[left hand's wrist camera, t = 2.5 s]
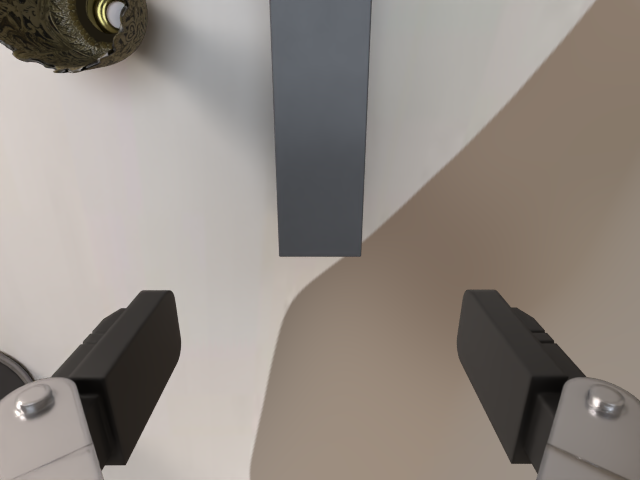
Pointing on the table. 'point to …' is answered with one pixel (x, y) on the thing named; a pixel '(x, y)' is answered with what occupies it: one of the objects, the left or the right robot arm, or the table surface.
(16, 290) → the table surface
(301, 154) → the bar
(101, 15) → the cup
